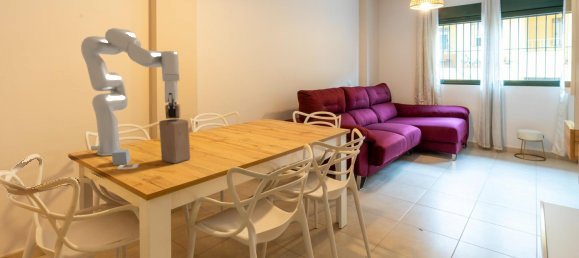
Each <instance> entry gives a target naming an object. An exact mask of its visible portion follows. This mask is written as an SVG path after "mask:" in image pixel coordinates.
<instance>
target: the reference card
mask: <svg viewBox="0 0 579 258" xmlns="http://www.w3.org/2000/svg"><path fill="white" fill-rule="evenodd" d="M139 166H140V164H139V163H135V164H134V163H133V164H124V165H118V166H117V168H116V169H117V170H131V169H133V170H134V169H138V168H139Z"/></svg>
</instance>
